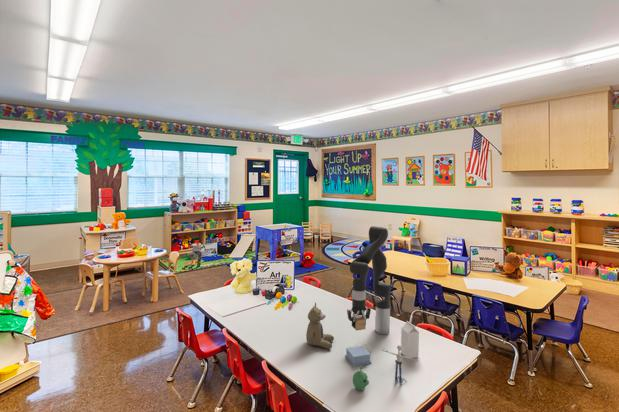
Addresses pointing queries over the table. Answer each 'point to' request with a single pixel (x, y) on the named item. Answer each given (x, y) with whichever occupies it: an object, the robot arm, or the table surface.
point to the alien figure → (399, 364)
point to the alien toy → (360, 379)
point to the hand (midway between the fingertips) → (358, 326)
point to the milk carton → (409, 341)
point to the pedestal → (358, 356)
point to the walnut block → (360, 323)
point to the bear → (317, 330)
